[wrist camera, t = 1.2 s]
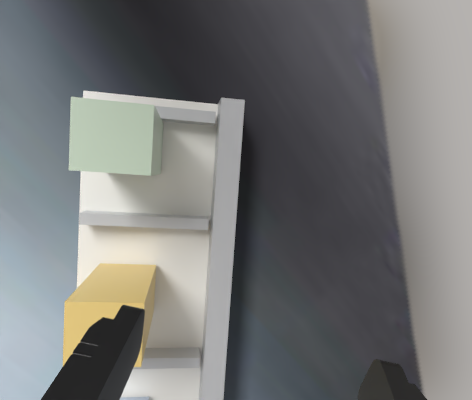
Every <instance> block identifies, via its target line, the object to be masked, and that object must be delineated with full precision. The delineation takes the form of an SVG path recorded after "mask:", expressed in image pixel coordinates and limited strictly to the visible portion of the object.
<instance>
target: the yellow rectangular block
mask: <svg viewBox="0 0 472 400" xmlns="http://www.w3.org/2000/svg"><path fill="white" fill-rule="evenodd" d="M155 279H156V265H143V264H107V263H100V264H99V265H98V266H97V267H96V268H95V269H94V270H93V272H92V273H91V274H90V275H89V276H88V277H87V278H86V279H85V280H84V281H83V283H82V284H81V285H80V286H79V287H78V288H77V289H76V290H75V291H74V292H73V294H72V295H71V296H70V297H69V298H68V299H67V300H66V301H65V312H64V345H63V366H64V364H65V363H66V361H67V360H68V358H69V357H70V355H72V354H73V351H74V349H75V348H76V346H77V345H78V343H80V340H81V339H82V337H83V336H84V334H85V333H86V331H87V330H88V328H89V327H90V326H92V325H93V324H94V323H96V322H97V321H98V320H100V319H101V318H102V317H105V318H110V319H114V318H115V316H116V314H117V313H118V311H119V309H120V308H121V306H122V305H127V306H132V307H137V308H142V309H145V317H144V327H143V336H142V344H141V348H140V352H139V355H138V358H137V361H136V363H135V365H134V367H141V366H142V361H143V357H144V352H145V348H146V344H147V339H148V335H149V330H150V326H151V322H152V317H153V313H154V298H155Z"/></svg>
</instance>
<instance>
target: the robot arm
mask: <svg viewBox="0 0 472 400" xmlns="http://www.w3.org/2000/svg"><path fill="white" fill-rule="evenodd" d="M144 317H145V309H142V308H137V307H132V306H127V305H122V306H121V308H120V309H119V311H118V313H117V314H116V316H115V318H114V319H110V318H105V317H102V318H101V319H100V320H98V321H97V322H96V323H94V324H93V325H92V326H90V327H89V328H88V330H87V331H86V333H85V334H84V336H83V337H82V339H81V340H80V343H78V345H77V346H76V348H75V349H74V351H73V354H72V355H70V357H69V358H68V360H67V361H66V363H65V364H64V366H63V367H62V369H61V370H60V372H59V373H58V375H57V376H56V378H55V379H54V381H53V382H52V384H51V385H50V387H49V388H48V390H47V391H46V393H45V394H44V396H43V397H42V399H41V400H120V397H121V395H122V393H123V391H124V388H125V386H126V384H127V381H128V379H129V377H130V374H131V372H132V370H133V368H134V365H135V363H136V361H137V358H138V355H139V352H140V348H141V344H142V336H143V327H144ZM358 400H427V399H426V398H425V397H424V395H423V394H422V393H421V392H420V390H419V389H418V388H417V387H416V385H415V384H410V383H408V380H407V378H406V376H405V373H404V371H403V369H402V367H401V366H400V365H399V364H396V363H391V362H387V361H382V360H377V359H376V360H374V361H373V362H372V364H371V366H370V368H369V370H368V372H367V374H366V376H365V378H364V380H363V382H362V384H361V386H360V389H359V392H358Z"/></svg>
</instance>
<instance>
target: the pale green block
mask: <svg viewBox="0 0 472 400" xmlns="http://www.w3.org/2000/svg"><path fill="white" fill-rule="evenodd" d="M163 127H164V123H163V121H162V119H161V117H160V115H159V113H158V111H157V109H156V107H155V105H149V104H139V103H129V102H119V101H108V100H98V99H88V98H78V97H71V113H70V146H69V170H74V171H88V172H103V173H118V174H133V175H148V176H152V175H157V174H161V165H162V146H163Z"/></svg>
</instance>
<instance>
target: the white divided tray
mask: <svg viewBox="0 0 472 400" xmlns="http://www.w3.org/2000/svg"><path fill="white" fill-rule="evenodd" d="M83 98H88V99H98V100H108V101H119V102H129V103H139V104H149V105H155V107H156V109H157V111H158V113H159V115H160V117H161V119H162V121H163V123H164V127H163V146H162V165H161V174H157V175H152V176H148V175H133V174H118V173H103V172H88V171H81V182H80V212H79V242H78V273H77V288H78V287H79V286H80V285H81V284H82V283H83V281H84V280H85V279H86V278H87V277H88V276H89V275H90V274H91V273H92V272H93V270H94V269H95V268H96V267H97V266H98V265H99V264H100V263H107V264H143V265H156V279H155V298H154V313H153V317H152V322H151V326H150V330H149V335H148V339H147V344H146V348H145V352H144V357H143V361H142V366H141V367H134V368H133V370H132V372H131V374H130V377H129V379H128V381H127V384H126V386H125V388H124V391H123V393H122V395H121V397H120V398H123V397H149V400H223V397H224V383H225V369H226V355H227V341H228V328H229V314H230V300H231V286H232V272H233V258H234V244H235V230H236V216H237V202H238V188H239V174H240V160H241V146H242V132H243V118H244V104H245V100H240V99H230V98H221V99H220V101H219V103H218V104H209V103H200V102H190V101H180V100H170V99H160V98H150V97H141V96H131V95H121V94H111V93H101V92H92V91H84V92H83Z"/></svg>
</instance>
